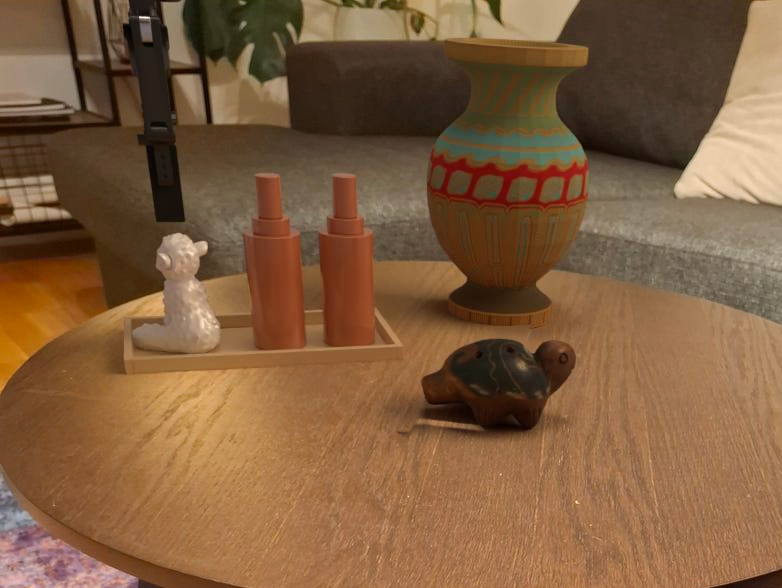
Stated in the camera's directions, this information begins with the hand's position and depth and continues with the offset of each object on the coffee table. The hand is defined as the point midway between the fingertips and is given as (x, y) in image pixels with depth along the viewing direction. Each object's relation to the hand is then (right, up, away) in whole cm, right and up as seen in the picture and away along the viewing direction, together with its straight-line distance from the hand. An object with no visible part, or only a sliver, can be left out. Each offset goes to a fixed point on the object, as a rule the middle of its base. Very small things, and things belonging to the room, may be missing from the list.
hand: (168, 206), depth 92 cm
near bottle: (+9, -10, +11) cm, 18 cm away
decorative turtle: (+34, -22, -1) cm, 40 cm away
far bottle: (+17, -9, +13) cm, 23 cm away
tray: (+7, -11, +11) cm, 17 cm away
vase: (+35, -1, +27) cm, 44 cm away
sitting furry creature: (-1, -11, +9) cm, 15 cm away
